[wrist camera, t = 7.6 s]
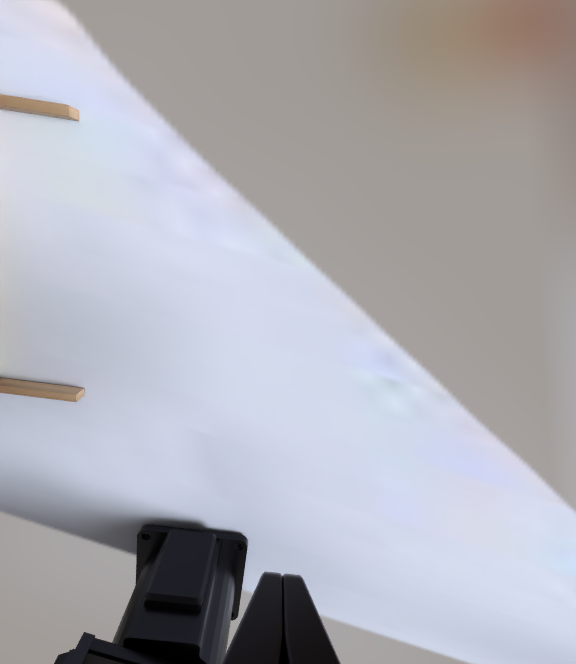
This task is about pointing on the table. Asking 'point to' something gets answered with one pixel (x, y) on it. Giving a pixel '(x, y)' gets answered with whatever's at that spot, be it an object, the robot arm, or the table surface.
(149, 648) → the robot arm
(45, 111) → the guide rails
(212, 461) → the table surface
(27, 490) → the table surface
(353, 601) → the table surface
